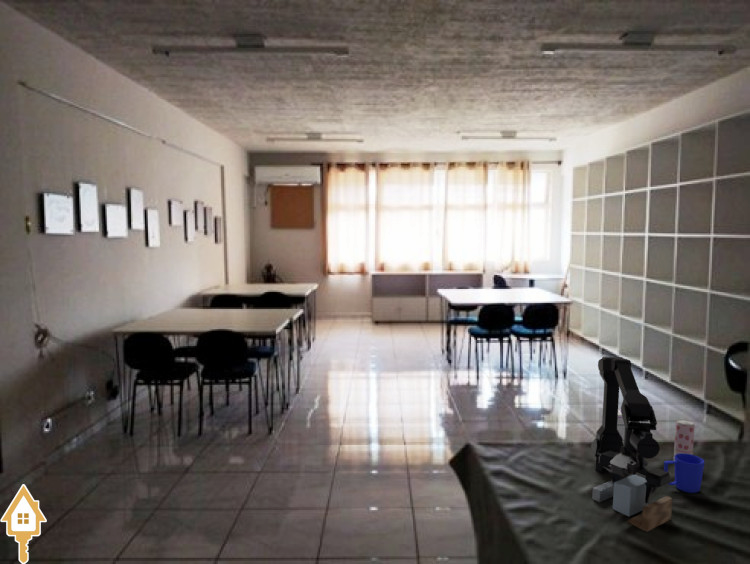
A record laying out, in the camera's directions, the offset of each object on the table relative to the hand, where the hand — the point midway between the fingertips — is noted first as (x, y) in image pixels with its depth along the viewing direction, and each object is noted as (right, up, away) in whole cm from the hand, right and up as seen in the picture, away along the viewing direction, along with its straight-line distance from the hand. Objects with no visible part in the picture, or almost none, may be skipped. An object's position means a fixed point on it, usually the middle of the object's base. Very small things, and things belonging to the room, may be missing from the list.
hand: (631, 496), depth 158 cm
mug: (+23, -4, +15) cm, 27 cm away
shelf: (-3, -4, +5) cm, 7 cm away
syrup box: (+17, -1, +45) cm, 48 cm away
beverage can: (+34, -2, +34) cm, 48 cm away
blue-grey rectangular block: (0, -4, 0) cm, 4 cm away
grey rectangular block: (-4, -3, +7) cm, 9 cm away
